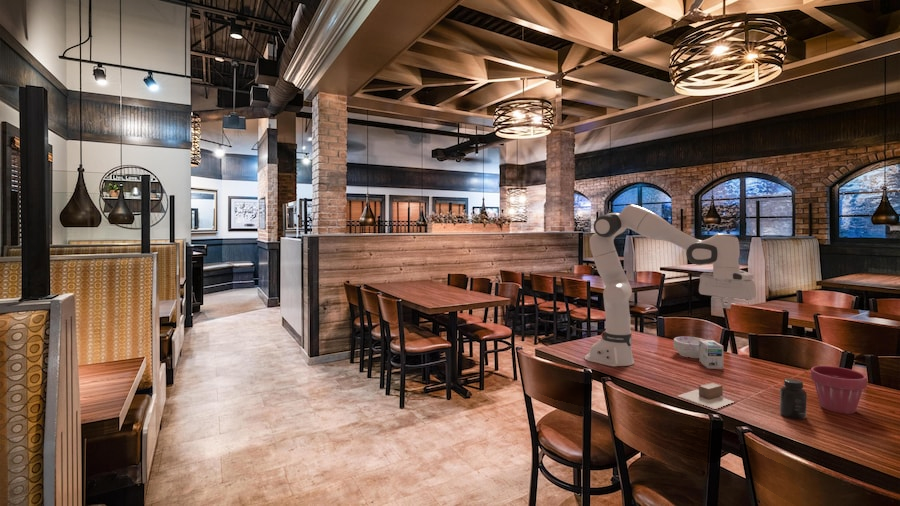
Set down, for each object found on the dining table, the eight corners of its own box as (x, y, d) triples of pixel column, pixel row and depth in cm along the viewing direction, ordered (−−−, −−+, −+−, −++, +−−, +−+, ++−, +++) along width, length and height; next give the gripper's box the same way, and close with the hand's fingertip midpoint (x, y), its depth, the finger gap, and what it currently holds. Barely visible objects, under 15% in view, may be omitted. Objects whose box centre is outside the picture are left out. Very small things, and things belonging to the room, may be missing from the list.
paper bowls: (696, 362, 198) (696, 345, 198) (666, 354, 212) (666, 338, 211) (715, 357, 205) (715, 341, 205) (685, 349, 219) (685, 334, 218)
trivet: (696, 390, 163) (696, 389, 163) (734, 402, 151) (735, 401, 151) (677, 396, 158) (677, 395, 158) (715, 410, 146) (715, 408, 146)
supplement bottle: (774, 412, 143) (775, 377, 142) (793, 410, 143) (793, 376, 143) (792, 421, 136) (793, 384, 135) (812, 419, 137) (812, 383, 136)
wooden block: (712, 392, 160) (698, 396, 157) (712, 382, 160) (698, 385, 157) (723, 396, 156) (708, 399, 153) (723, 385, 156) (708, 389, 153)
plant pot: (852, 420, 135) (853, 381, 135) (801, 404, 148) (802, 369, 148) (874, 412, 141) (875, 374, 140) (824, 397, 154) (824, 363, 153)
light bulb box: (724, 369, 187) (724, 345, 186) (707, 368, 188) (707, 345, 188) (714, 362, 197) (714, 339, 197) (698, 361, 199) (698, 339, 198)
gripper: (695, 272, 175) (695, 305, 175) (749, 276, 157) (749, 312, 157) (704, 271, 178) (704, 303, 178) (758, 275, 160) (758, 311, 160)
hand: (725, 308), depth 168 cm, fingers closed
